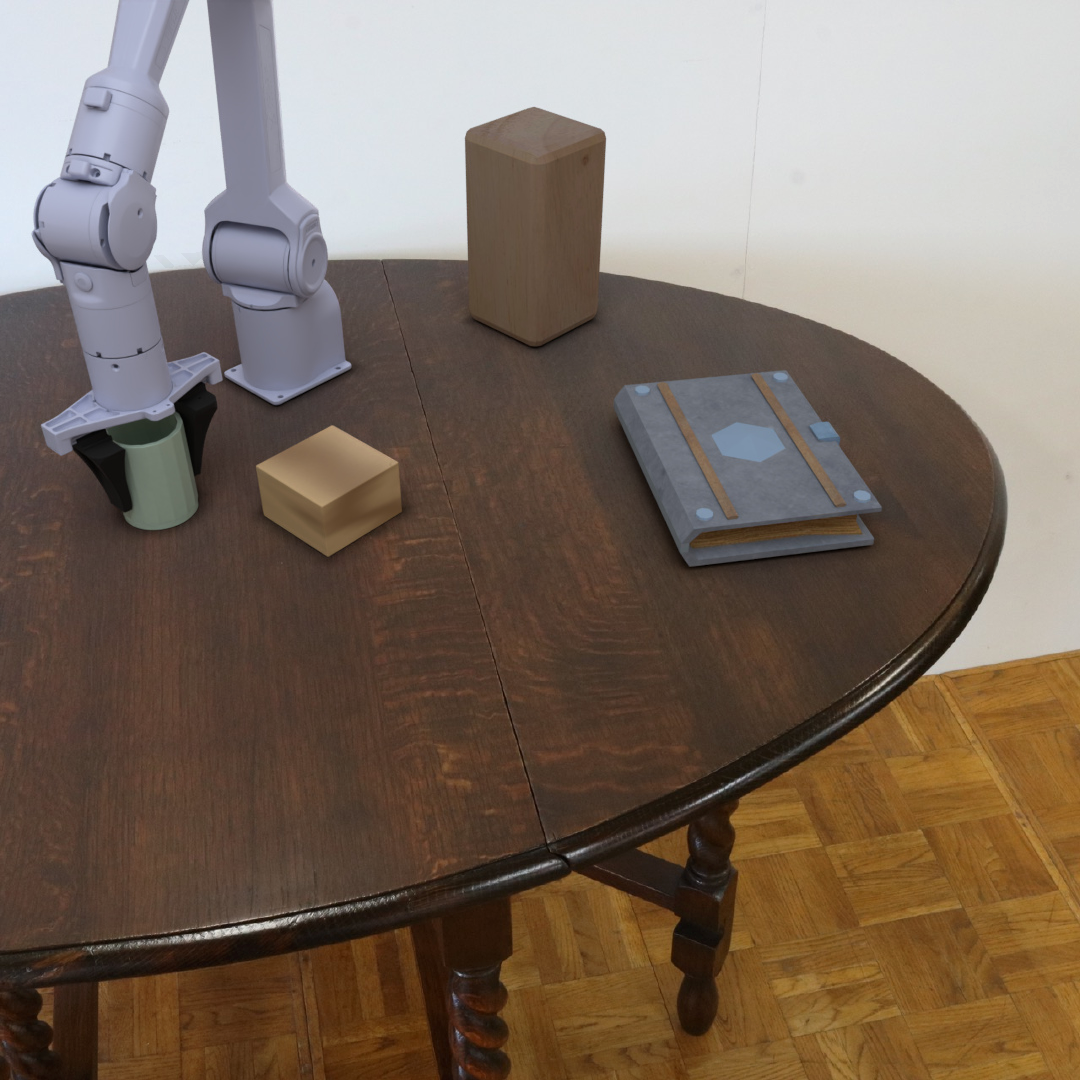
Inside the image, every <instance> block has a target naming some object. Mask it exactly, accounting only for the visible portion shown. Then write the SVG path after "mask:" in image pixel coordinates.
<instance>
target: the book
mask: <svg viewBox="0 0 1080 1080" xmlns="http://www.w3.org/2000/svg"><path fill="white" fill-rule="evenodd" d="M613 411H614V412H615V414H616V416H617V419H618V421H619V423H620V426H621V427H622V430H623V431H624V434H625V436H626V438H627V441H628V443H629V444H630V447H631V449H632V452H633V453H634V455H635V458H636V460H637V462H638V465H639V467H640V468H641V471H642V473H643V476H644V477H645V480H646V482H647V484H648V486H649V488H650V490H651V493H652V495H653V498H654V500H655V501H656V503H657V505H658V508H659V510H660V512H661V515H662V517H663V519H664V522H666V525H667V528H668V530H669V532H670V534H671V536H672V539H673V540H674V543H675V545H676V548H677V549H678V552H679V554H680V555H681V557H682V558H683V560H684V561H685V562H686V564H687V565H688V567H699V566H705V565H715V564H723V563H733V562H739V561H749V560H755V559H756V560H758V559H765V558H773V557H781V556H789V555H799V554H806V553H816V552H823V551H831V550H839V549H849V548H856V547H864V546H873V545H874V542H875V537H874V536H873V534H872V533H871V532H870V530H869V529H868V527H867V526H866V524H865V523H864V521H863V520H862V518H861V516H860V515H863V514H864V515H865V514H870V513H879V512H881V513H882V509H883V506H882V505H881V504H880V502H879V501H878V499H877V498H876V496H875V495H874V494H873V492H872V491H871V489H870V487H869V486H868V485H867V484H866V482H865V481H864V479H863V478H862V477H861V475H860V473H859V472H858V470H857V469H856V468H855V466H854V465H853V464H852V462H851V461H850V459H849V458H848V457H847V455H846V454H845V452H844V451H843V449H842V448H841V446H840V443H841V436H840V435H839V434H838V432H837V431H836V430H835V428H834V426H832V424H831V423H830V422H829V421H823V420H822V419H821V418H820V417H819V415H818V414H817V412H816V411H815V409H814V408H813V406H812V405H811V404H810V402H809V400H808V399H807V398H806V396H805V395H804V393H803V392H802V391H801V389H800V388H799V386H798V385H797V383H796V382H795V381H794V379H793V378H792V376H791V375H790V373H789V372H788V371H787V369H783V370H772V371H762V372H761V371H760V372H750V373H739V374H731V375H720V376H718V375H717V376H707V377H699V378H688V379H687V378H686V379H677V380H676V379H675V380H665V381H655V382H645V383H635V384H633V383H632V384H624V385H623V386H622V387H621V389H620V390H619V391H618V393H617V394H616V396H615V397H614V398H613Z"/></svg>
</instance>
